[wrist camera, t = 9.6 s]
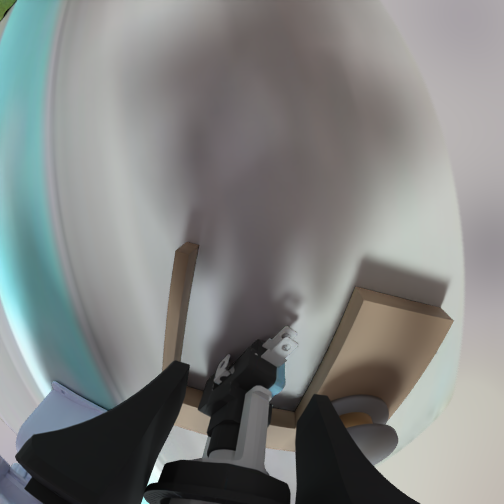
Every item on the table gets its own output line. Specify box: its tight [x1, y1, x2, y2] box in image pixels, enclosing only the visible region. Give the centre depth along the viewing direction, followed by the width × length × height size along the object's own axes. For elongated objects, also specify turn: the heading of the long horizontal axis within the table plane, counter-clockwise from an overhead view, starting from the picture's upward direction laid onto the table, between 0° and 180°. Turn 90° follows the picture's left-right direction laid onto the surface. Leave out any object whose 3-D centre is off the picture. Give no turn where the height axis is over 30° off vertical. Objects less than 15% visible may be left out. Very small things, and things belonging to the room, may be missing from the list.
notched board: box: [162, 242, 453, 465], centre depth 12 cm, size 14×12×4 cm
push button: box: [144, 326, 298, 504], centre depth 9 cm, size 7×5×10 cm
